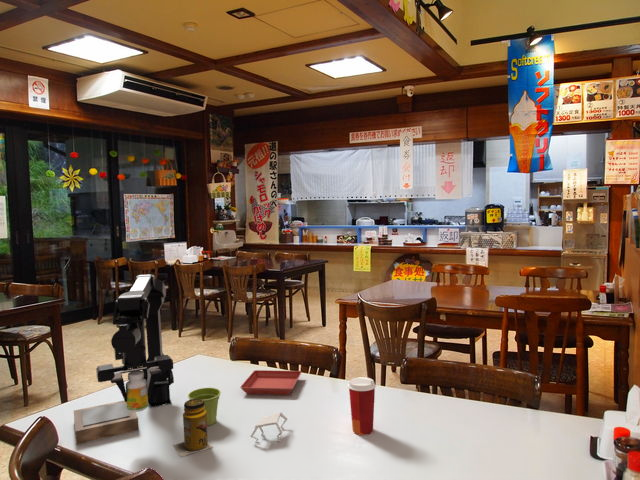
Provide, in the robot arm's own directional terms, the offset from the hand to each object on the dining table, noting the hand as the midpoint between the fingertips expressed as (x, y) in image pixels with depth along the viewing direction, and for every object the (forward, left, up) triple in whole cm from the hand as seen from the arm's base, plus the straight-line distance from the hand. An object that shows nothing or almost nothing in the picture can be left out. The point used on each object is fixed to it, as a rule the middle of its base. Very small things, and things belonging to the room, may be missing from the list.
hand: (137, 399), depth 131 cm
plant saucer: (-47, -20, -13) cm, 53 cm away
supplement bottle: (0, 0, -3) cm, 3 cm away
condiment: (-12, +9, -13) cm, 20 cm away
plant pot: (-19, -4, -13) cm, 23 cm away
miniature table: (-33, +14, -13) cm, 38 cm away
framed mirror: (+7, -17, -12) cm, 22 cm away
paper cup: (-55, +25, -13) cm, 62 cm away
